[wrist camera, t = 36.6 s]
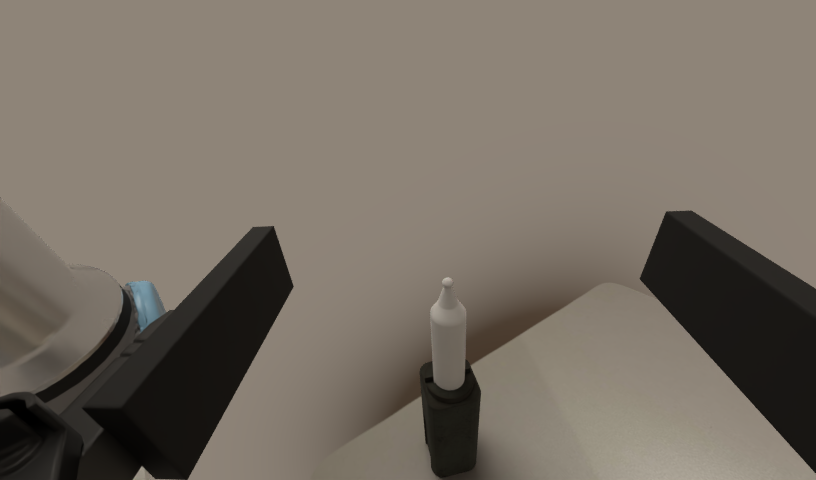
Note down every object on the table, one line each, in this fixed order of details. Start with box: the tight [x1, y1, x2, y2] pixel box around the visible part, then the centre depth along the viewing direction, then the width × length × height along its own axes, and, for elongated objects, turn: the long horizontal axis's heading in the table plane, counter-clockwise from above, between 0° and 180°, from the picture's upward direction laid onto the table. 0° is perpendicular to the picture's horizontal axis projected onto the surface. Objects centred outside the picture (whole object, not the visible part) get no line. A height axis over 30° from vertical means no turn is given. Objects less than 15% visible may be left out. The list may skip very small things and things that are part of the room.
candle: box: [420, 278, 481, 477], centre depth 30 cm, size 5×5×25 cm
